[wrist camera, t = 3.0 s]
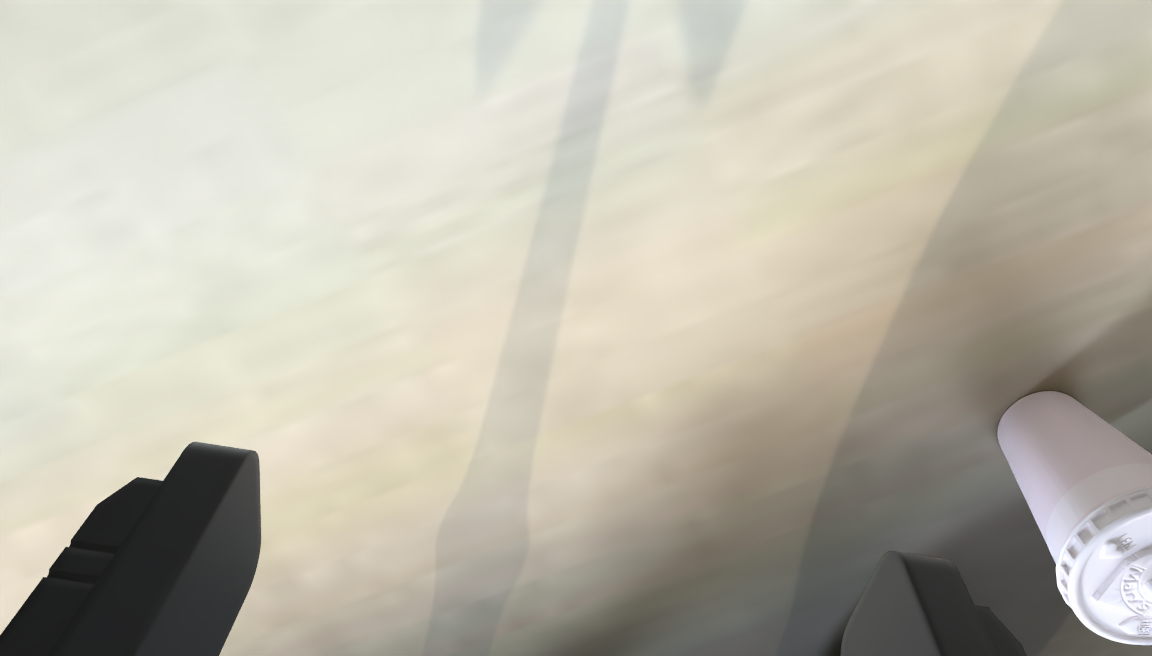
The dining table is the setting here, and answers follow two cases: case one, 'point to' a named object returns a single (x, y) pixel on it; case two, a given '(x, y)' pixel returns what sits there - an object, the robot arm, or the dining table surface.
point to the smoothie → (1087, 509)
